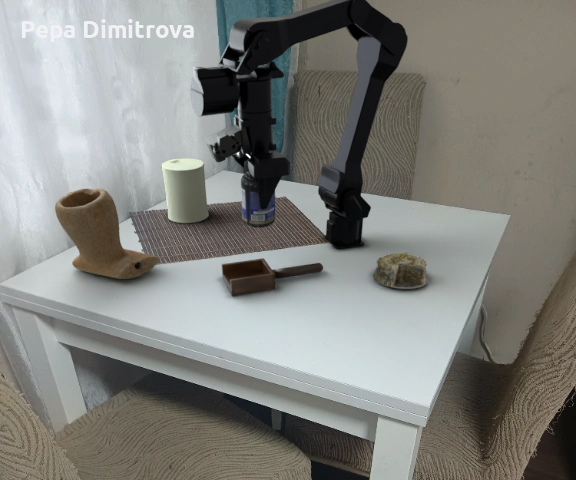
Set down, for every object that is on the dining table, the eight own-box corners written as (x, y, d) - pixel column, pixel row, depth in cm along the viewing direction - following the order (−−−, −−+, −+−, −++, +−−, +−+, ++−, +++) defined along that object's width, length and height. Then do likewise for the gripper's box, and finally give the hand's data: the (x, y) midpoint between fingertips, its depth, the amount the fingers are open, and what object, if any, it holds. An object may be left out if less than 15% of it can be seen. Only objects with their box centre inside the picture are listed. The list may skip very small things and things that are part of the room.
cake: (363, 275, 107) (364, 247, 105) (408, 267, 111) (410, 240, 108) (391, 294, 100) (393, 265, 97) (439, 285, 103) (442, 256, 100)
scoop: (315, 265, 110) (316, 250, 108) (329, 281, 104) (330, 265, 103) (222, 279, 105) (221, 264, 103) (232, 296, 100) (231, 280, 98)
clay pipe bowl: (57, 275, 106) (36, 194, 97) (102, 252, 115) (87, 176, 106) (118, 294, 100) (102, 210, 91) (162, 268, 109) (151, 189, 100)
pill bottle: (281, 218, 107) (282, 161, 100) (263, 232, 104) (262, 173, 96) (254, 209, 110) (253, 152, 102) (235, 222, 106) (233, 164, 98)
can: (187, 206, 136) (182, 153, 128) (217, 214, 131) (212, 160, 124) (159, 217, 130) (151, 163, 122) (189, 226, 125) (183, 170, 118)
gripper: (195, 102, 100) (203, 191, 109) (221, 126, 85) (228, 226, 95) (256, 97, 102) (259, 185, 112) (291, 120, 88) (291, 218, 98)
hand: (258, 202), depth 104 cm, fingers closed on pill bottle, 6 cm apart
